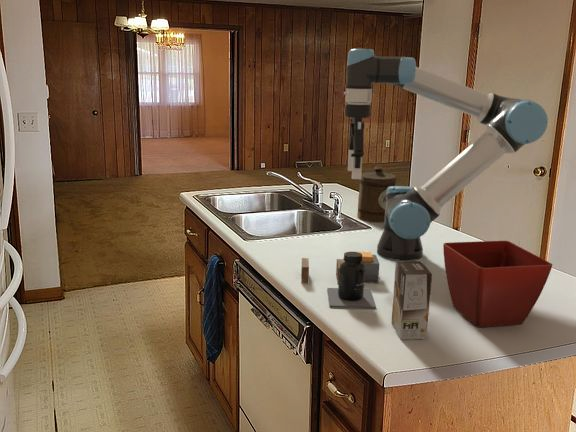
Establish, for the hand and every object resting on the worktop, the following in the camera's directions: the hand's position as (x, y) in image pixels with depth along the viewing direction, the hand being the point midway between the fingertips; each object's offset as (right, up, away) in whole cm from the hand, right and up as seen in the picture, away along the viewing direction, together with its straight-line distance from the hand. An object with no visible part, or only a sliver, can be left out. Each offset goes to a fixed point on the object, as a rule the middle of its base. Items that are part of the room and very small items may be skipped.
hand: (354, 174), depth 169 cm
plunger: (+2, -30, -5) cm, 30 cm away
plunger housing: (+2, -31, -4) cm, 31 cm away
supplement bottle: (-3, -34, -20) cm, 40 cm away
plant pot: (+31, -38, -28) cm, 56 cm away
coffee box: (+8, -40, -37) cm, 55 cm away
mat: (-3, -35, -20) cm, 40 cm away
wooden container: (+16, -14, +64) cm, 68 cm away
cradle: (-10, -31, -6) cm, 33 cm away
